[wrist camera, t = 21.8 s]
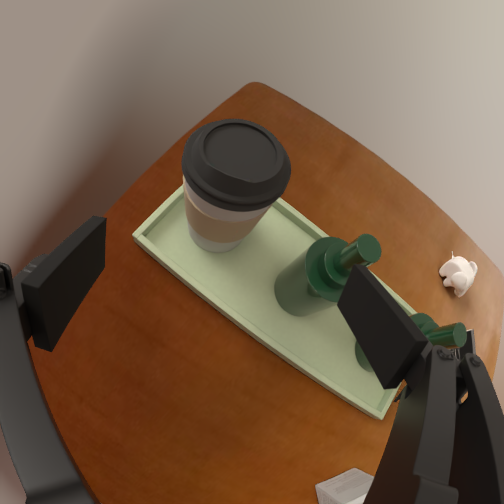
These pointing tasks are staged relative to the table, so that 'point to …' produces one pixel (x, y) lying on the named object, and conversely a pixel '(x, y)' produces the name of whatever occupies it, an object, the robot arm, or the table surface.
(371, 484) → the robot arm
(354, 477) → the product box
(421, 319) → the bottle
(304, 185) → the table surface
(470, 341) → the cell phone
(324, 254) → the bottle mid
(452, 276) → the elephant figurine
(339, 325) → the tray
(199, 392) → the table surface
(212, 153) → the coffee cup
